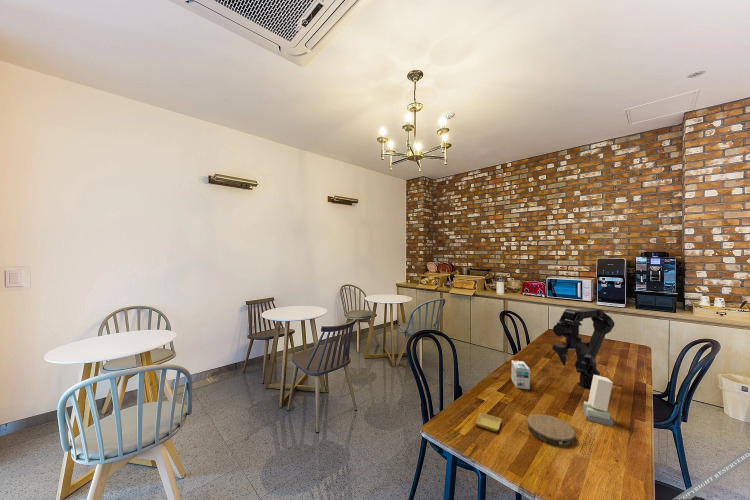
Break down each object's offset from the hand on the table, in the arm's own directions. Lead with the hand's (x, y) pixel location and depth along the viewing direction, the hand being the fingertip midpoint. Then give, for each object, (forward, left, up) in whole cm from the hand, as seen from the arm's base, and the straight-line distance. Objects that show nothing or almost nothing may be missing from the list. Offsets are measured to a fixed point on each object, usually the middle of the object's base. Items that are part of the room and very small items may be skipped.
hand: (571, 364), depth 148 cm
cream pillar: (+10, +23, -8) cm, 26 cm away
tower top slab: (+10, +22, -11) cm, 27 cm away
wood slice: (+38, +28, -14) cm, 49 cm away
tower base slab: (+10, +23, -14) cm, 28 cm away
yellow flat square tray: (+59, +19, -14) cm, 63 cm away
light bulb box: (+22, -10, -13) cm, 28 cm away
